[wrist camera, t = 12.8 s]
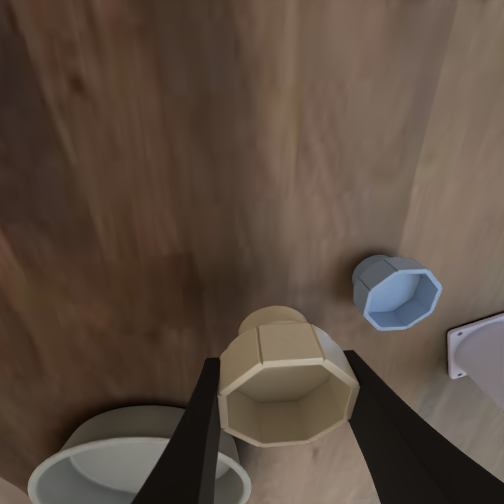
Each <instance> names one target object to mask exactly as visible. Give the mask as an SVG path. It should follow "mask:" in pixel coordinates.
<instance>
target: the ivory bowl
mask: <svg viewBox="0 0 504 504" xmlns="http://www.w3.org/2000/svg"><path fill="white" fill-rule="evenodd" d="M220 360H221V362H220V377H219V383H218V390H217V401H218V411H219V420H220V428H222V430H223V431H225V432H227V433H229V434H231V435H233V436H235V437H238V438H240V439H242V440H244V441H246V442H248V443H250V444H252V445H255V446H257V447H259V446H260V447H274V446H287V445H300V444H308V442H309V443H311V442H313V441H315V440H317V439H318V438H320V437H322V436H324V435H325V434H327V433H329V432H331V431H332V430H334V429H336V428H338V427H339V426H341V425H343V424H345V423H346V422H348V419H351V416H352V413H353V409H354V406H355V403H356V400H357V396H358V393H359V390H360V385H359V382H358V380H357V378H356V376H355V374H354V372H353V370H352V368H351V366H350V364H349V362H348V360H347V358H346V356H345V354H344V352H343V350H342V348H341V347H340V346H338V345H337V344H336V343H335V342H334V341H333V340H332V339H331V337H330V336H329V335H328V334H327V333H326V332H324V331H323V330H321V329H320V328H318V327H316V326H314V325H313V324H309V323H308V321H307V319H306V318H305V317H304V316H303V315H302V314H301V313H300V312H298V311H297V310H295V309H292V308H290V307H285V306H269V307H264V308H261V309H259V310H256V311H255V312H253V313H251V314H250V315H249V316H247V317H246V318H245V319H244V321H243V322H242V324H241V325H240V327H239V330H238V337H237V338H236V339H235V340H234V341H233V342H232V343H231V344H230V345H229V346H228V348H227V349H226V351H224V352H223V353H222V354H221V356H220Z"/></svg>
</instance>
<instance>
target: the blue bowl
mask: <svg viewBox="0 0 504 504" xmlns="http://www.w3.org/2000/svg"><path fill="white" fill-rule="evenodd" d="M352 282H353V285H354V291H353V296H354V297H353V303H354V304H355V305H356V307H357V308H358V309H359V311H360V312H361V314H362V315H363V316H364V317H365V318H366V319H367V320H368V321H369V322H370V323H371V324H372V325H373V326H374V327H375V328H376V329H377V330H379V331H387V330H405V329H406V328H407V329H408V328H410V327H411V326H413V325H414V324H416V323H417V322H419V321H420V320H422V319H424V318H425V317H427V316H428V315H430V314H431V312H433V311H434V308H435V306H436V303H437V301H438V299H439V296H440V294H441V292H442V286H441V284H440V283H439V282H438V280H437V279H436V278H435V276H434V275H433V274H432V272H431V271H430V270H429V269H428V268H426V267H425V266H423V265H422V264H420V263H419V262H417V261H416V260H414V259H413V258H404V257H389V256H386V255H374V256H370V257H368V258H366V259H364V260H363V261H362V262H360V263H359V264H358V265H357V267H356V268H355V270H354V272H353V275H352Z"/></svg>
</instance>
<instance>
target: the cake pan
mask: <svg viewBox="0 0 504 504" xmlns="http://www.w3.org/2000/svg"><path fill="white" fill-rule="evenodd" d="M185 410H186V409H182V408H176V407H169V406H158V405H143V406H131V407H124V408H119V409H114V410H111V411H107V412H104V413H102V414H99V415H97V416H95V417H93V418H91V419H89V420H88V421H86V422H84V423H83V424H82V425H81V426H80V427H78V428H77V429H76V431H75V432H74V433H73V434H72V435H71V437H70V438H69V439H68V441H67V442H66V443H65V445H64V446H63V447H62V448H61V450H60V451H59V452H57V453H55V454H54V455H52V456H50V457H49V458H47V459H46V460H45V461H44V462H42V463H41V464H40V465H39V466H38V467H37V468H36V469H35V470H34V472H33V473H32V475H31V477H30V479H29V482H28V494H29V497H30V499H31V501H32V503H33V504H131V503H132V501H133V499H134V498H135V496H136V495H137V493H138V492H139V490H140V489H141V487H142V486H143V484H144V482H145V481H146V479H147V478H148V476H149V474H150V473H151V471H152V470H153V468H154V466H155V465H156V463H157V461H158V460H159V458H160V456H161V455H162V453H163V451H164V449H165V448H166V446H167V444H168V442H169V441H170V439H171V437H172V435H173V433H174V431H175V429H176V427H177V425H178V423H179V422H180V420H181V418H182V416H183V414H184V412H185ZM250 493H251V482H250V478H249V476H248V474H247V472H246V471H245V469H244V468H243V467H242V466H241V465H240V462H239V457H238V453H237V448H236V444H235V441H234V439H233V437H232V436H231V434H229V433H227V432H225V431H223V430H222V428H221V432H220V441H219V450H218V458H217V467H216V477H215V489H214V504H245V503H246V502H247V500H248V498H249V495H250Z"/></svg>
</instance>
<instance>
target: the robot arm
mask: <svg viewBox="0 0 504 504" xmlns="http://www.w3.org/2000/svg"><path fill="white" fill-rule="evenodd" d="M447 341H448V371H449V376H450V377H451V378H452V379H456V378H459V377H463V376H466V375H468V376H469V377H470V378H471V379H472V380H473V381H474V382H475V383H476V384H477V385H478V386H479V387H480V388H481V389H482V390H483V391H484V392H485V393H486V394H487V395H488V396H489V397H490V398H491V400H492V401H493V402H494V403H495V404H496V405H497V406H498V407H499V408H500V409H501V410H502V411H503V412H504V313H502V314H499V315H496V316H493V317H490V318H486V319H483V320H480V321H477V322H474V323H471V324H468V325H465V326H462V327H458V328H455V329H452V330H450V331H449V332H448V333H447ZM343 352H344V354H345V356H346V358H347V360H348V362H349V364H350V366H351V368H352V370H353V372H354V374H355V376H356V378H357V380H358V382H359V385H360V390H359V393H358V396H357V400H356V403H355V406H354V409H353V413H352V416H351V419H348V421H349V423H350V426H351V428H352V430H353V433H354V435H355V437H356V440H357V442H358V444H359V447H360V449H361V451H362V454H363V456H364V458H365V461H366V463H367V466H368V468H369V471H370V473H371V476H372V479H373V482H374V485H375V488H376V491H377V494H378V496H379V499H380V502H381V504H504V483H503V482H502V481H500V480H499V479H498V478H496V477H495V476H493V475H492V474H491V473H489V472H488V471H487V470H485V469H484V468H483V467H481V466H480V465H479V464H477V463H476V462H475V461H473V460H472V459H471V458H469V457H468V456H467V455H466V454H464V453H463V452H462V451H460V450H459V449H458V448H457V447H455V446H454V445H453V444H452V443H450V442H449V441H448V440H447V439H446V438H444V437H443V436H442V435H441V434H440V433H438V432H437V431H436V430H435V429H434V428H432V427H431V426H430V425H429V424H428V423H427V422H426V421H424V420H423V419H422V418H421V417H420V416H419V415H418V414H417V413H416V412H415V411H413V410H412V409H411V408H410V407H409V406H408V405H407V404H406V403H405V402H404V401H403V400H402V399H401V398H400V397H399V396H398V395H397V394H396V393H395V392H394V391H393V390H392V389H391V388H390V387H389V386H388V385H386V384H385V382H384V381H383V380H382V379H381V378H380V377H379V376H378V375H377V374H376V373H375V372H374V371H373V370H372V369H371V368H370V367H369V366H368V365H367V364H366V363H365V362H364V361H363V360H362V359H361V358H360V356H359V355H358V354H357V353H356V352H355V351H354V350H347V351H343ZM220 362H221V360H220V357H218V358H207V359H206V360H205V363H204V366H203V369H202V372H201V375H200V377H199V380H198V382H197V385H196V387H195V390H194V392H193V394H192V396H191V399H190V401H189V403H188V405H187V407H186V410H185V412H184V414H183V416H182V418H181V420H180V422H179V423H178V425H177V427H176V429H175V431H174V433H173V435H172V437H171V439H170V441H169V442H168V444H167V446H166V448H165V449H164V451H163V453H162V455H161V456H160V458H159V460H158V461H157V463H156V465H155V466H154V468H153V470H152V471H151V473H150V474H149V476H148V478H147V479H146V481H145V482H144V484H143V486H142V487H141V489H140V490H139V492H138V493H137V495H136V496H135V498H134V499H133V501H132V503H131V504H214V489H215V477H216V467H217V458H218V450H219V441H220V432H221V428H220V420H219V411H218V401H217V390H218V383H219V377H220Z"/></svg>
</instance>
